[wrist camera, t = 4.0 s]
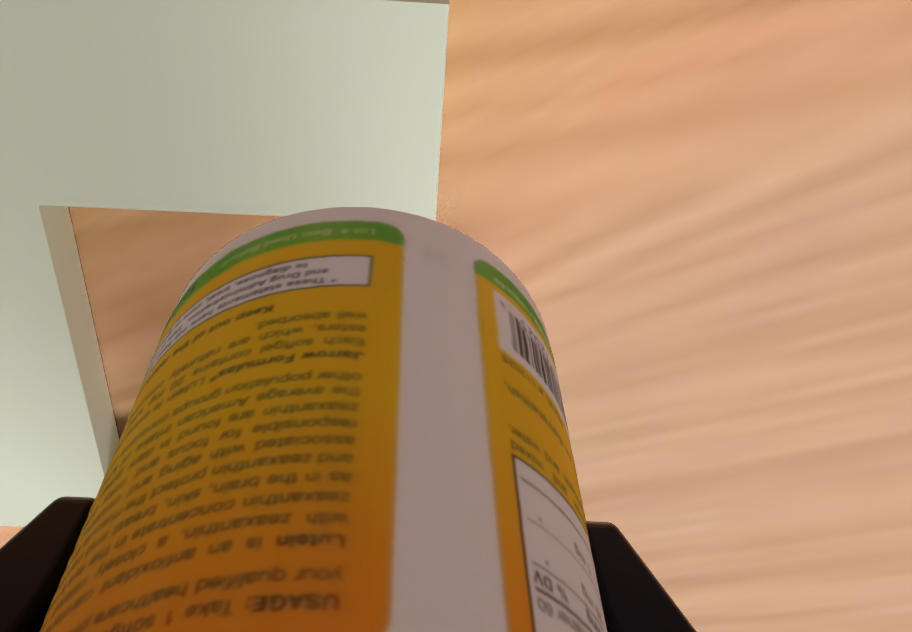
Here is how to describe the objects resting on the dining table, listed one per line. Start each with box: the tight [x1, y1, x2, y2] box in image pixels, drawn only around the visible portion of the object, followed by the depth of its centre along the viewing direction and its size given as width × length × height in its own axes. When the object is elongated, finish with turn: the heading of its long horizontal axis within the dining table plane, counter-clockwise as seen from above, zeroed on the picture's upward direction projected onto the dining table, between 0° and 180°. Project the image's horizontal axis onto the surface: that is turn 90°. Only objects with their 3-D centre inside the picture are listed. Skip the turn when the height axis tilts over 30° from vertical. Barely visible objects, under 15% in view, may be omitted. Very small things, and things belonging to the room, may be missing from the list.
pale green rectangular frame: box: [0, 0, 449, 526], centre depth 22 cm, size 16×18×2 cm
